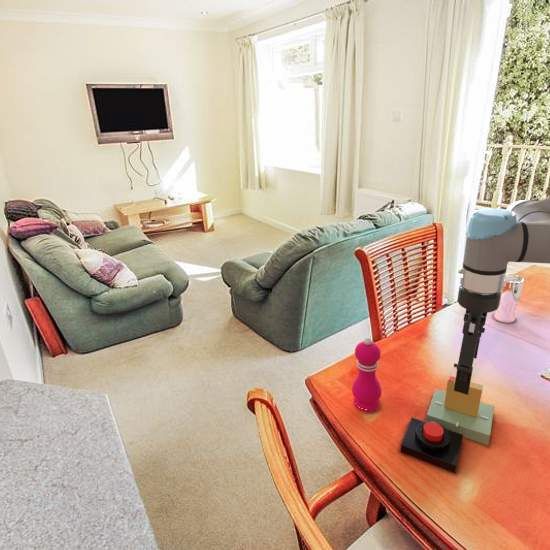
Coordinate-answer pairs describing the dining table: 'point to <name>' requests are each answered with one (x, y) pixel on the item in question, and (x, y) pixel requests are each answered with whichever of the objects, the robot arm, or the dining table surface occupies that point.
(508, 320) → the beer glass
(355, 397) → the pepper mill
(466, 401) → the handle
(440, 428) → the button
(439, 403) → the plate
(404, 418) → the dining table surface
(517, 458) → the dining table surface
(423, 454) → the button block
